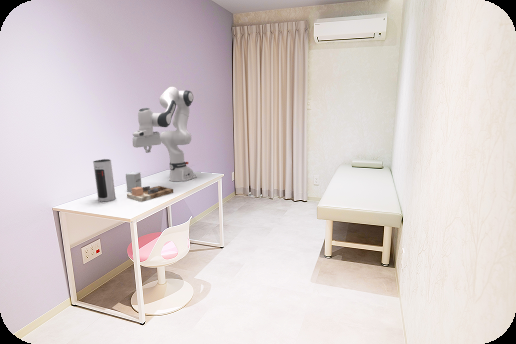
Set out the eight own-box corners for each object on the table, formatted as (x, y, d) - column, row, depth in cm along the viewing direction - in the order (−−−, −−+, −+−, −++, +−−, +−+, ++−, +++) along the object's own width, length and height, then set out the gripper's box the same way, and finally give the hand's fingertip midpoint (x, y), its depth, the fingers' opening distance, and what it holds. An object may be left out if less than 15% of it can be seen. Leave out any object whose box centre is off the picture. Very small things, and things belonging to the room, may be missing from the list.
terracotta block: (139, 193, 214) (138, 186, 213) (143, 194, 211) (142, 187, 210) (132, 195, 210) (131, 188, 209) (136, 196, 207) (135, 189, 206)
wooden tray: (159, 189, 233) (158, 182, 232) (173, 192, 224) (172, 185, 222) (127, 197, 214) (126, 190, 213) (141, 201, 204) (140, 194, 203)
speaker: (94, 201, 207) (89, 161, 201) (106, 196, 217) (101, 158, 211) (107, 202, 204) (102, 161, 198) (119, 197, 213) (115, 158, 208)
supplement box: (136, 192, 227) (134, 174, 224) (127, 191, 228) (125, 174, 226) (142, 189, 234) (140, 172, 231) (132, 188, 235) (131, 171, 233)
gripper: (156, 131, 231) (158, 150, 234) (130, 133, 216) (132, 154, 219) (162, 131, 228) (163, 150, 231) (135, 134, 212) (137, 154, 215)
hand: (148, 152), depth 225 cm, fingers closed
